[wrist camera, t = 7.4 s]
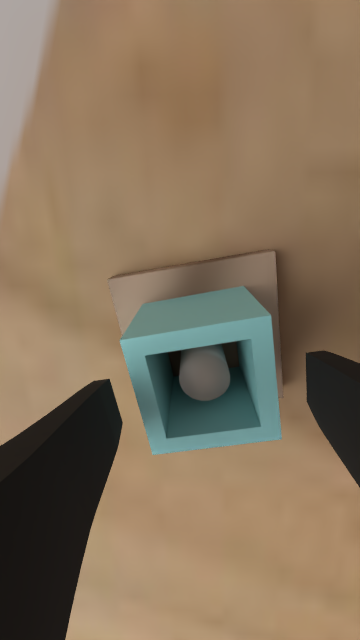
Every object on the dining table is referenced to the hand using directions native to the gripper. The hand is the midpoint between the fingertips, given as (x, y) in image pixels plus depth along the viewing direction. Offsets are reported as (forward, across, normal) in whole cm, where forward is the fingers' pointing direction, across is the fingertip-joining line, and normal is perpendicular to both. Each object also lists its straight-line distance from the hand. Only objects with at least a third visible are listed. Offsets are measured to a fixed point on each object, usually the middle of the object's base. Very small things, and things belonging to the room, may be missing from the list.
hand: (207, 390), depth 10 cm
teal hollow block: (+4, 0, 0) cm, 4 cm away
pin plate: (+5, 0, 0) cm, 5 cm away
